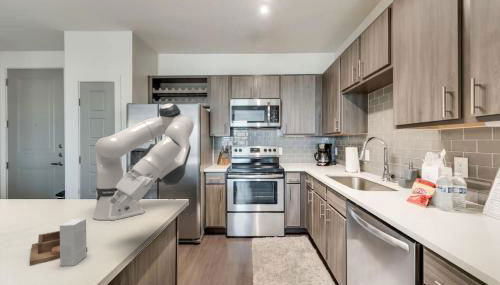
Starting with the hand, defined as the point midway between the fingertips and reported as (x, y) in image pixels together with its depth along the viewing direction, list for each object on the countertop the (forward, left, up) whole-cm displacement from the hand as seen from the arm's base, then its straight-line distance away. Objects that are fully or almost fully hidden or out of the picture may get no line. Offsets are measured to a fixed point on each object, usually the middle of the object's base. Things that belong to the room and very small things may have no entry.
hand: (114, 205), depth 80 cm
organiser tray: (+14, -14, -15) cm, 25 cm away
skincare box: (+11, -1, -15) cm, 19 cm away
